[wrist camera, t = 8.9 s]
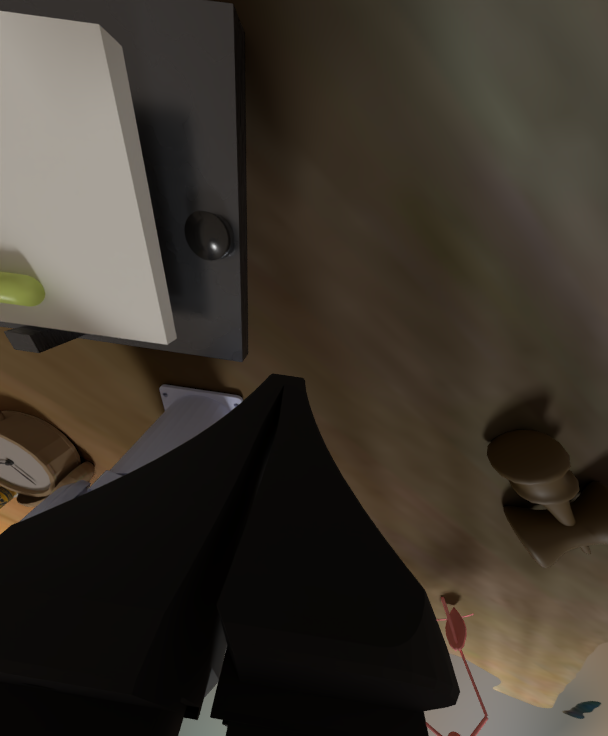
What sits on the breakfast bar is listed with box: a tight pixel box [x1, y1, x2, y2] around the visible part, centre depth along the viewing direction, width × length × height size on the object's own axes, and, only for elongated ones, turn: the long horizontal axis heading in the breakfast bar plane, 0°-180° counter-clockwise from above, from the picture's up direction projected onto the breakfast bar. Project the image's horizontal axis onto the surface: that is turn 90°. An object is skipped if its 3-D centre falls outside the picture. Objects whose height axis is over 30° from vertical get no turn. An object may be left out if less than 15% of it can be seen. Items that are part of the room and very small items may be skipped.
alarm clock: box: [0, 410, 94, 507], centre depth 28 cm, size 11×5×15 cm
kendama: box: [487, 430, 608, 568], centre depth 22 cm, size 6×10×20 cm
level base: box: [0, 0, 248, 362], centre depth 13 cm, size 25×17×6 cm
